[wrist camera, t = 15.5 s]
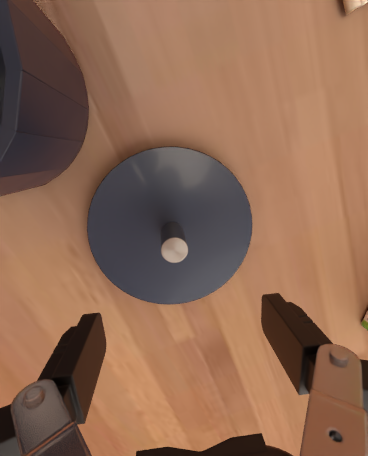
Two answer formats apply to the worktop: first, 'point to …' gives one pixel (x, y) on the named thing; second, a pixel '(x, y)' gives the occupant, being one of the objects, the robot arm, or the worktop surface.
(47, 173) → the tin
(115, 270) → the tin lid
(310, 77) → the worktop surface
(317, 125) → the worktop surface
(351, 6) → the toy measuring tape
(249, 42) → the worktop surface
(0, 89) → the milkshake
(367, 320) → the syrup box
